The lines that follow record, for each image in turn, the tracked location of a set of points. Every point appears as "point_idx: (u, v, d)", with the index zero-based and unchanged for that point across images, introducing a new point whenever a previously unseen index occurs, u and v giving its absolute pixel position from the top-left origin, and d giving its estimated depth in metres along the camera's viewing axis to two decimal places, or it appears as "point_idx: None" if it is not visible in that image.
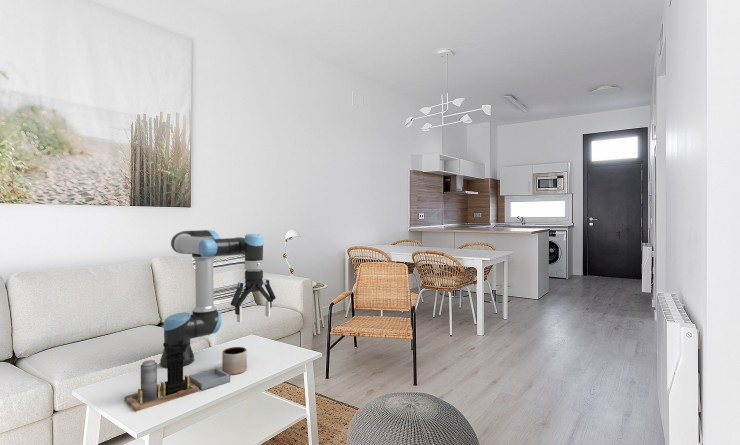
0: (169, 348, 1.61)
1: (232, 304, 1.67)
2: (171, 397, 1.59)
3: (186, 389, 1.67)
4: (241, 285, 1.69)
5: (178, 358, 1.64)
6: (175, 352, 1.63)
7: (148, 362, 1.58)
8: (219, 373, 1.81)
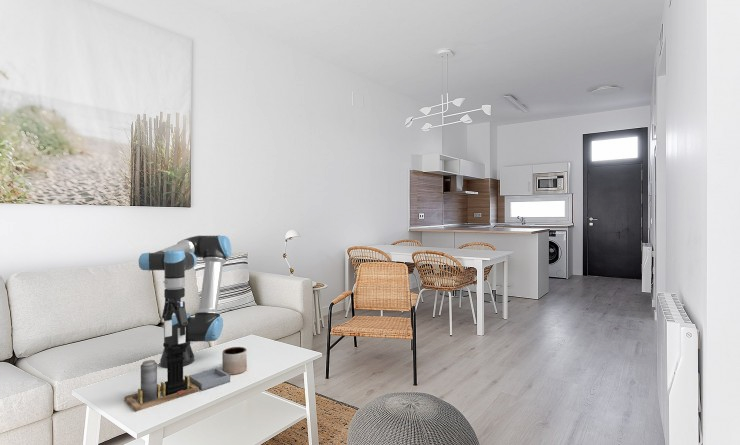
0: (169, 348, 1.61)
1: None
2: (171, 397, 1.59)
3: (186, 389, 1.67)
4: (165, 300, 1.69)
5: (178, 358, 1.64)
6: (175, 352, 1.63)
7: (148, 362, 1.58)
8: (219, 373, 1.81)
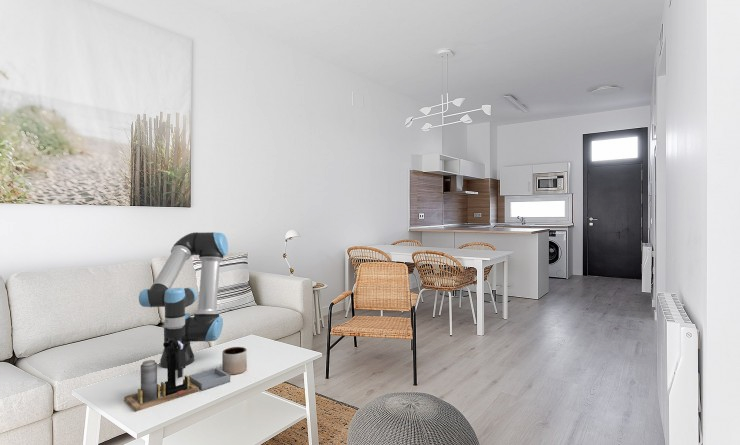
0: (169, 348, 1.61)
1: None
2: (171, 397, 1.59)
3: (186, 389, 1.67)
4: (166, 340, 1.69)
5: None
6: None
7: (148, 362, 1.58)
8: (219, 373, 1.81)
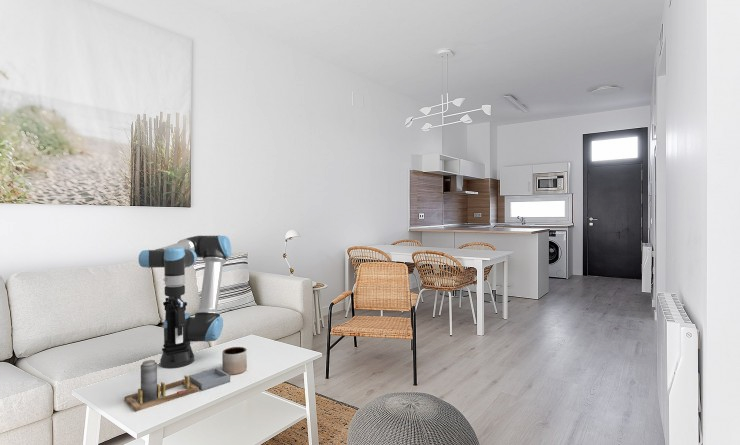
0: (169, 306, 1.61)
1: None
2: (171, 397, 1.59)
3: (186, 348, 1.67)
4: None
5: None
6: None
7: (148, 362, 1.58)
8: (219, 373, 1.81)
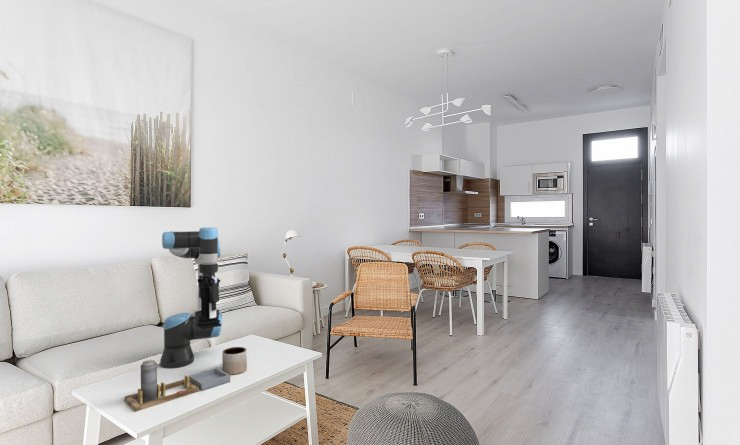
0: (204, 282, 1.70)
1: None
2: (171, 397, 1.59)
3: (219, 323, 1.76)
4: (199, 277, 1.78)
5: None
6: None
7: (148, 362, 1.58)
8: (219, 373, 1.81)
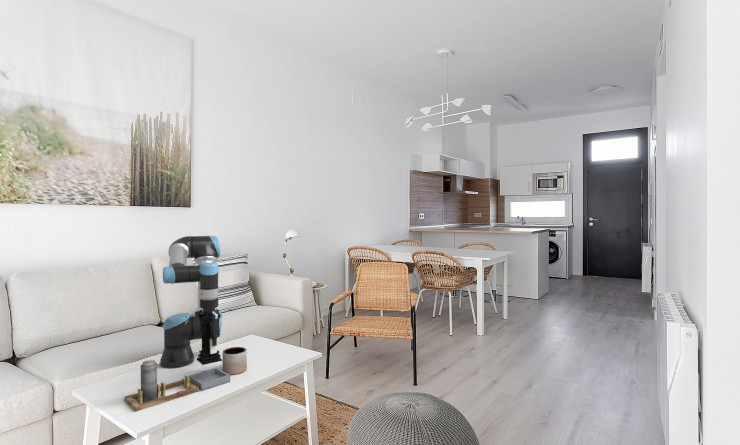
0: (205, 318, 1.71)
1: None
2: (171, 397, 1.59)
3: (219, 358, 1.76)
4: (200, 312, 1.78)
5: None
6: None
7: (148, 362, 1.58)
8: (219, 373, 1.81)
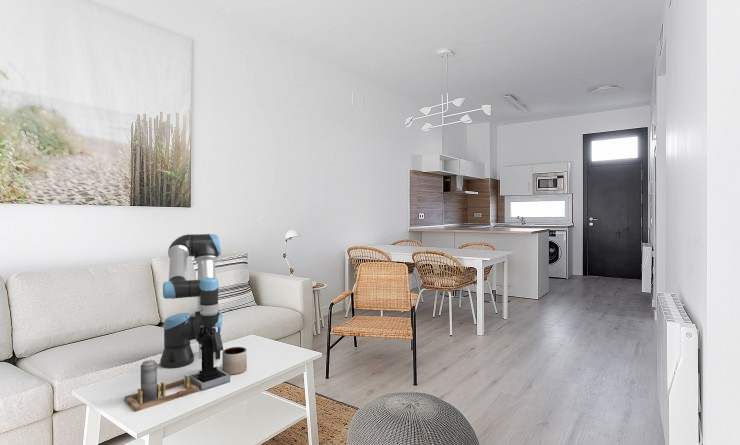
0: (205, 338, 1.71)
1: None
2: (171, 397, 1.59)
3: (219, 377, 1.76)
4: (199, 324, 1.79)
5: (213, 348, 1.74)
6: (210, 342, 1.73)
7: (148, 362, 1.58)
8: (219, 373, 1.81)
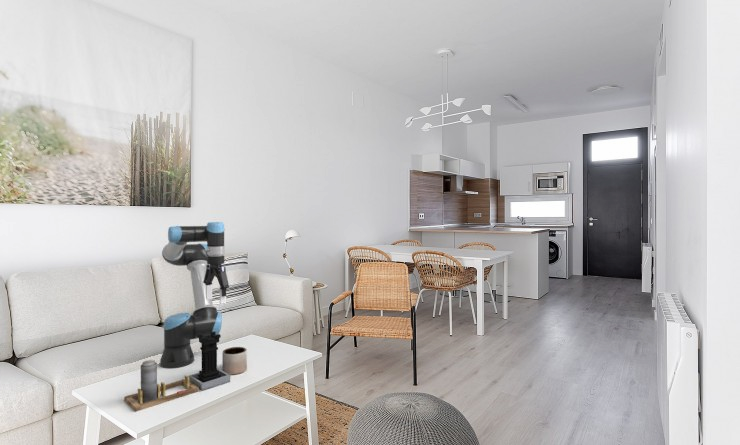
0: (205, 339, 1.71)
1: None
2: (171, 397, 1.59)
3: (219, 377, 1.76)
4: (206, 266, 1.91)
5: (212, 348, 1.74)
6: (210, 342, 1.73)
7: (148, 362, 1.58)
8: (219, 373, 1.81)
